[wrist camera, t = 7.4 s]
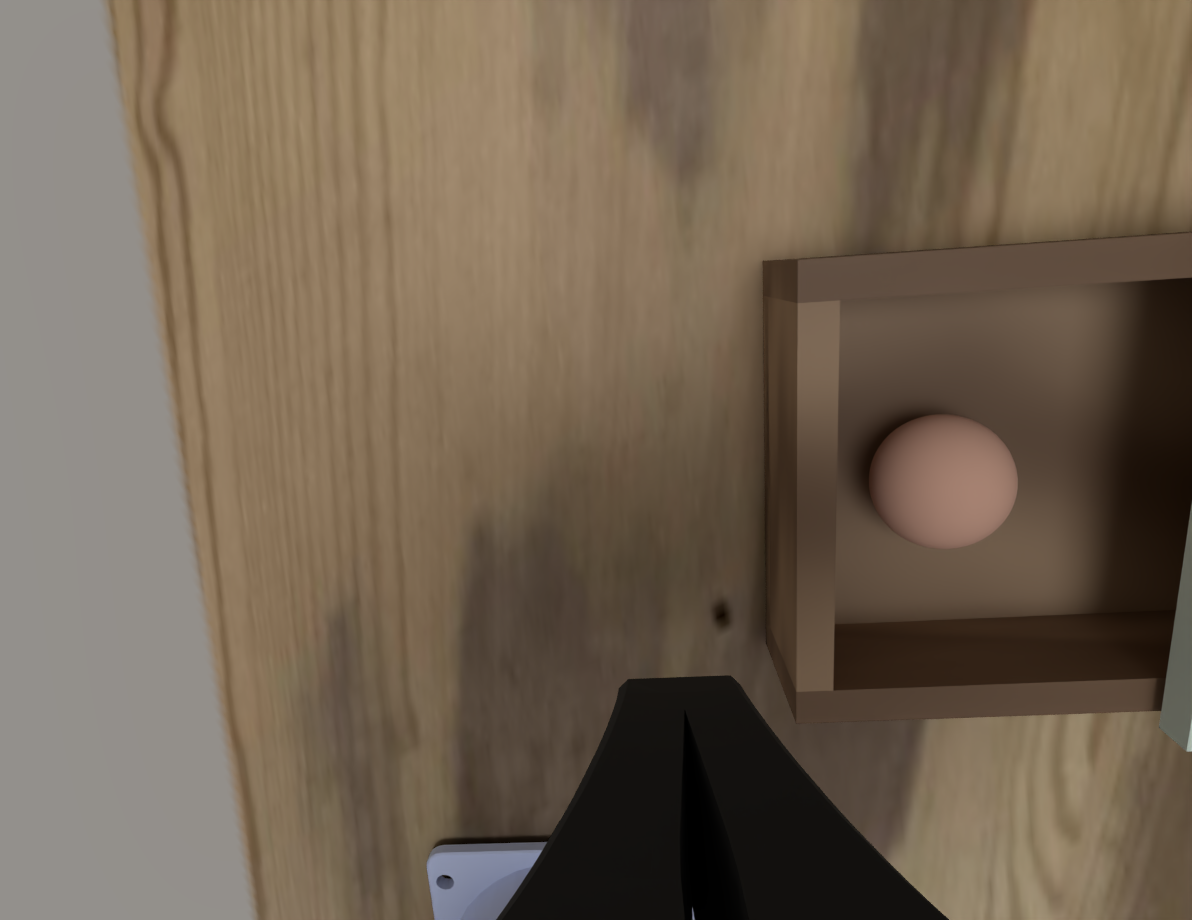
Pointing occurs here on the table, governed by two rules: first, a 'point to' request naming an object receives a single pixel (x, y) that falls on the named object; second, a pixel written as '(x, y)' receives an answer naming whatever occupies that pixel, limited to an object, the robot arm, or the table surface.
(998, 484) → the ball
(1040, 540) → the walnut box
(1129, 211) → the table surface
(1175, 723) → the lid
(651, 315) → the table surface
